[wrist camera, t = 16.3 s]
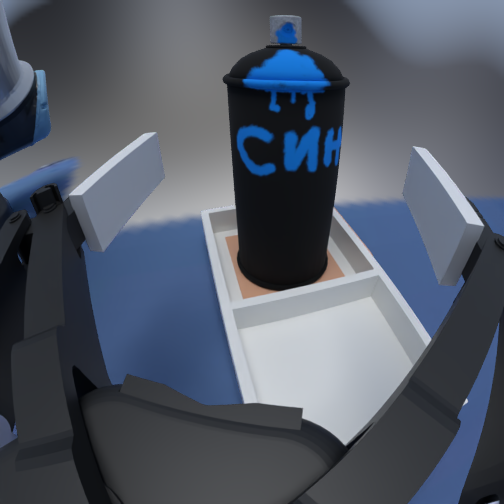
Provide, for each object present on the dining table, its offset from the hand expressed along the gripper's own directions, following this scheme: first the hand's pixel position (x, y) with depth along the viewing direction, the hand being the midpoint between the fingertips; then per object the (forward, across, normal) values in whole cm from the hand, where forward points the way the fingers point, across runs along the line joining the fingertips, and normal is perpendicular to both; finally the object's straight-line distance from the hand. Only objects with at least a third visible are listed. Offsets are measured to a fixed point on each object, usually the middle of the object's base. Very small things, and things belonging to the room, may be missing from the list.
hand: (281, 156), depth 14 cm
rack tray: (+1, +2, -14) cm, 14 cm away
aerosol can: (+7, 0, -13) cm, 14 cm away
